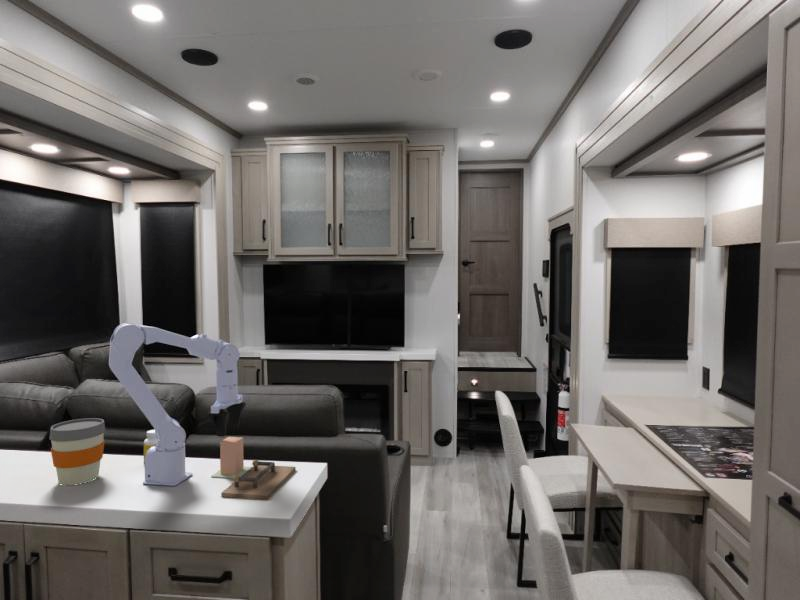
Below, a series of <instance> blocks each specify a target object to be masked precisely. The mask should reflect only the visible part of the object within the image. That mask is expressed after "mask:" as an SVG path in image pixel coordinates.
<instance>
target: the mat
mask: <svg viewBox="0 0 800 600" xmlns="http://www.w3.org/2000/svg"><path fill="white" fill-rule="evenodd" d="M252 467H253V466H244V469H243V470H242V471H240V472H239V473H238V474H237V475H239V476H240V477H241V476H242V475H244V474H245V473H246V472H247V471H248V470H250V469H251V468H252ZM234 476H235V475H225V474H221V469H219V470H218V471H217V472H215V473H214V474H212V475H211V476H210V477H211V478H214V479H215V478H216V479H217V478H218V479H231V480H233V477H234Z"/></svg>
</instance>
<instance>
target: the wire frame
mask: <svg viewBox="0 0 800 600" xmlns="http://www.w3.org/2000/svg"><path fill="white" fill-rule="evenodd" d="M251 467H252V468H251V469H250V470H248V471H247V472H246V473H245V474H244V475H242V476H241V477H240V476H239V475H235V476H234V477H233V479H232V481H233V482H232V483H231V484H230V485H229V486H228V487H226V488H225V489H224V490H223V491H222V492H220V495H221V497H223V498H235V499H249V500H250V499H252V500H266V501H267V500H269V499H270V498H271V497H272V495H274V493H276V491H278V489H279V488H281V486H282V485H284V483H285V482H286V481H287V480H288V479H289V477H291V476H292V475H293V473H294V472H295V471H296V466H285V465H276V463H275V462H274V461H259V460H258V459H253V461H252V466H251Z"/></svg>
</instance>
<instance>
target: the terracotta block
mask: <svg viewBox="0 0 800 600" xmlns="http://www.w3.org/2000/svg"><path fill="white" fill-rule="evenodd" d="M219 448H220V450H219V451H220V452H219V453H220V455H219V456H220V459H219V463H220V465H219V466H220V469H219V470H221V474H225V475H237V474H238V473H239V472H240V471H242V470H243V469H244V467H245V466H244V437H242V436H241V437H240V436H239V437H237V436H227V437H226V438H224V439H222V440H221V441H220V442H219Z"/></svg>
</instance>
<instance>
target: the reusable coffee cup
mask: <svg viewBox="0 0 800 600" xmlns="http://www.w3.org/2000/svg"><path fill="white" fill-rule="evenodd" d="M105 433H106V424H105V420H104V419H102V418H98V417H97V418H96V417H93V418H91V417H90V418H89V417H88V418H86V417H85V418H78V419H72V420H67V421H61V422H59V423H56V424H53V425H51V427H50V430H49V437H48V438H49V441H51V448H50V453H51V458H52V463H53V467H55V469H56V475H57V482H58V484H59V485H60V484H62V485H74V486H76V485H75V484H80V483H84V484H86V483H85V482H88V481H90V482H92V481H91V480H93V479H95V478H96V479H97V478H98V477H99V474H100V468H101V460H102V459H103V455H104V449H105V442H106V441H105V439H104V435H105ZM96 479H95V480H96ZM93 481H94V480H93ZM88 483H89V482H88ZM62 485H61V486H62ZM80 485H81V484H80Z"/></svg>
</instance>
